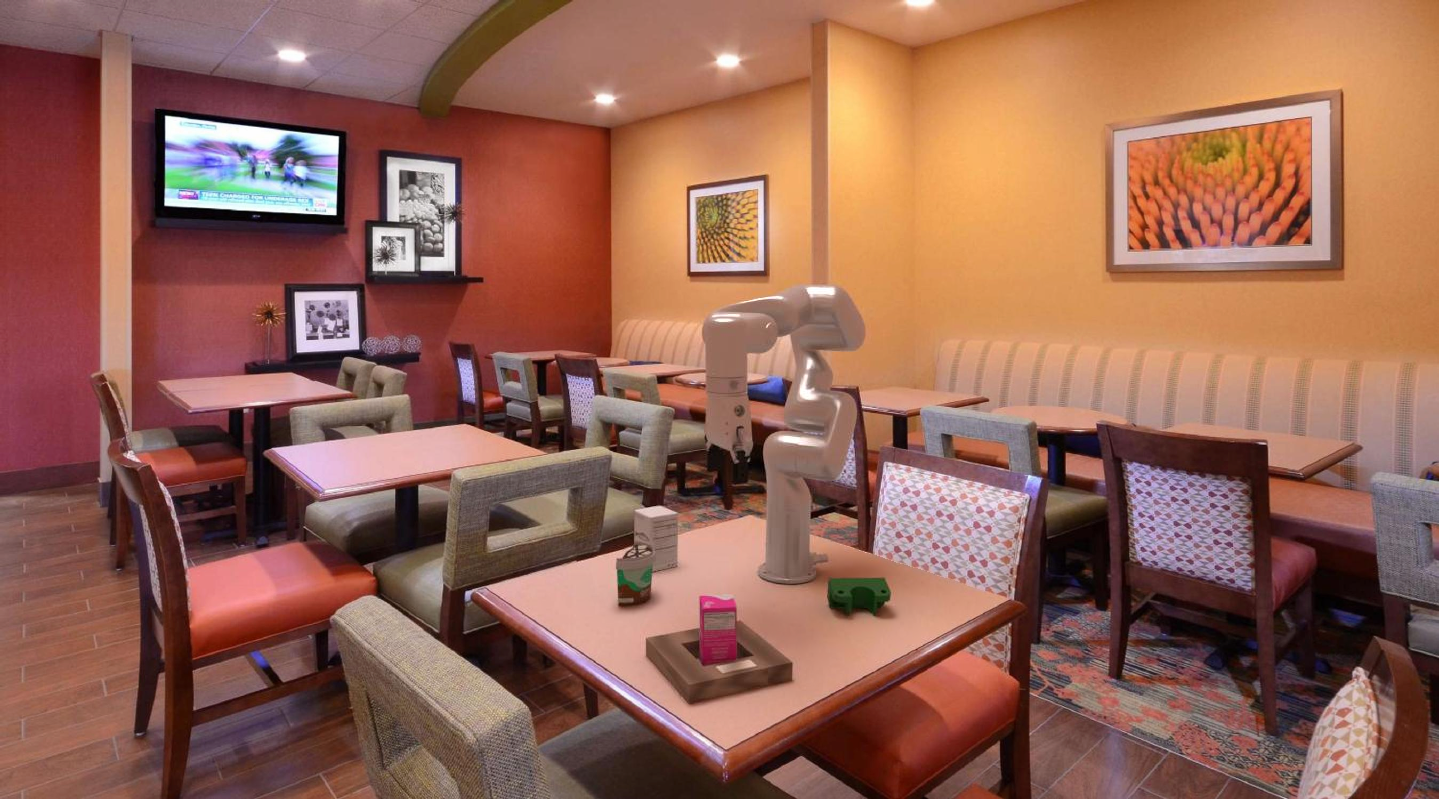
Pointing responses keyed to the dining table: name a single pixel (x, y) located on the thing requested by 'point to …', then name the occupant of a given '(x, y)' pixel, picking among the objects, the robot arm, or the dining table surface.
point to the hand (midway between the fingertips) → (727, 477)
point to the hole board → (706, 682)
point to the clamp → (858, 593)
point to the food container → (635, 574)
